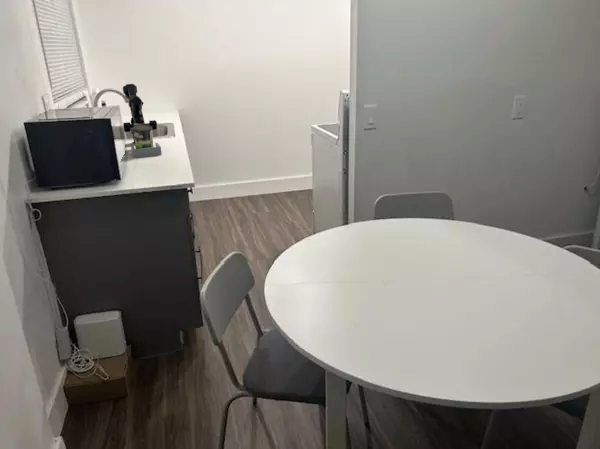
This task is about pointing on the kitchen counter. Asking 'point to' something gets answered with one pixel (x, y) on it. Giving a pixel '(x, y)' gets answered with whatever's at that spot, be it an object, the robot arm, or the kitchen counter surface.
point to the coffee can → (143, 136)
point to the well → (146, 151)
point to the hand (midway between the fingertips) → (142, 137)
